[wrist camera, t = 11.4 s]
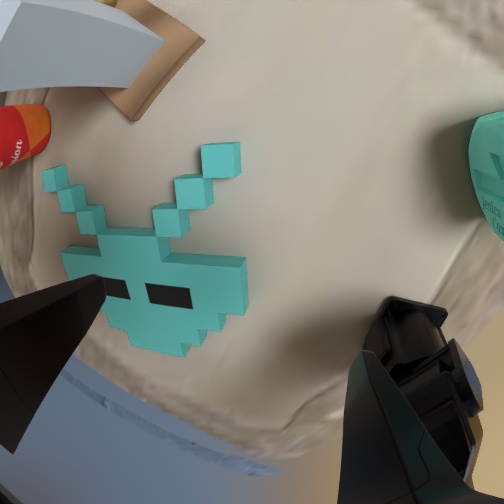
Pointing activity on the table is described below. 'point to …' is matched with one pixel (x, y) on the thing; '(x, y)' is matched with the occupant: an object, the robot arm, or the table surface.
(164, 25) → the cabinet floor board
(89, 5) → the pale blue upright block
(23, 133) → the paper cup
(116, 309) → the alien figure
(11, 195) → the table surface
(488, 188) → the decorative dice
